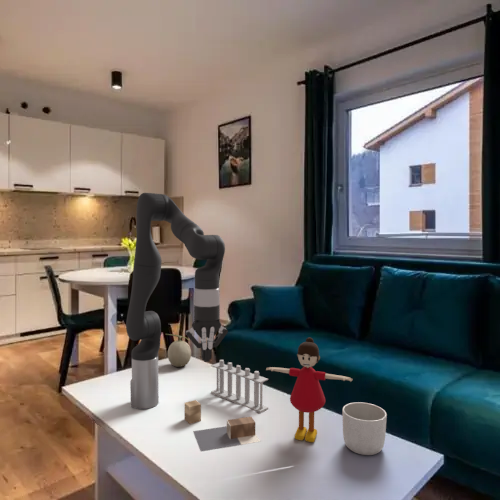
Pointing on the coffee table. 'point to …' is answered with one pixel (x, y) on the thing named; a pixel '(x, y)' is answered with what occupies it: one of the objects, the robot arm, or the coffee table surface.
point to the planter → (364, 427)
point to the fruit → (179, 352)
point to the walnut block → (240, 427)
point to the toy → (307, 387)
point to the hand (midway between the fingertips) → (206, 360)
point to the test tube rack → (239, 386)
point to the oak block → (192, 411)
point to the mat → (220, 439)
